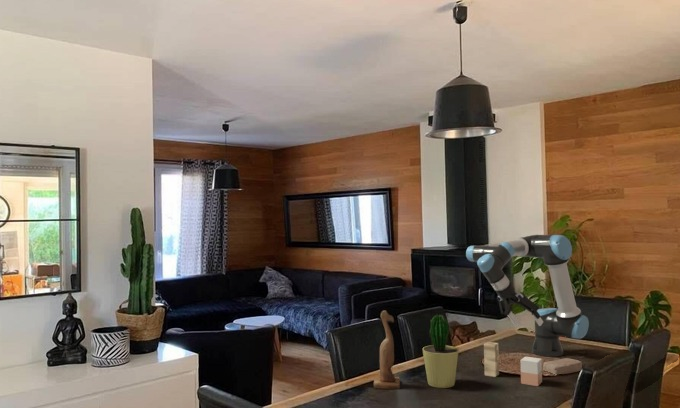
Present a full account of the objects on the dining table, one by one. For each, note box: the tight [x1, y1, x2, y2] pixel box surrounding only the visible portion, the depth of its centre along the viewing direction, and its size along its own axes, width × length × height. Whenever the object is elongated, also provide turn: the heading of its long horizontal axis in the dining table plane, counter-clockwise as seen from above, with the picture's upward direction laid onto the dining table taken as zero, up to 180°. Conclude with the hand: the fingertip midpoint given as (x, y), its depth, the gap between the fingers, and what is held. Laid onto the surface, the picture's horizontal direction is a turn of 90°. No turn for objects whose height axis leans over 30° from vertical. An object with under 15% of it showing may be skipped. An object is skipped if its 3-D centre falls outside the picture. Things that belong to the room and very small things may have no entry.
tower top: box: [519, 356, 543, 374], centre depth 222 cm, size 7×7×5 cm
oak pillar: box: [483, 341, 500, 378], centre depth 233 cm, size 5×5×14 cm
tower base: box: [520, 370, 543, 387], centre depth 221 cm, size 7×7×5 cm
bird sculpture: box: [373, 310, 401, 390], centre depth 222 cm, size 11×12×32 cm
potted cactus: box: [422, 314, 460, 389], centre depth 222 cm, size 15×15×30 cm
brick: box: [542, 357, 583, 375], centre depth 237 cm, size 17×8×5 cm, turn 114°
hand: (529, 324), depth 227 cm, fingers open, 13 cm apart
